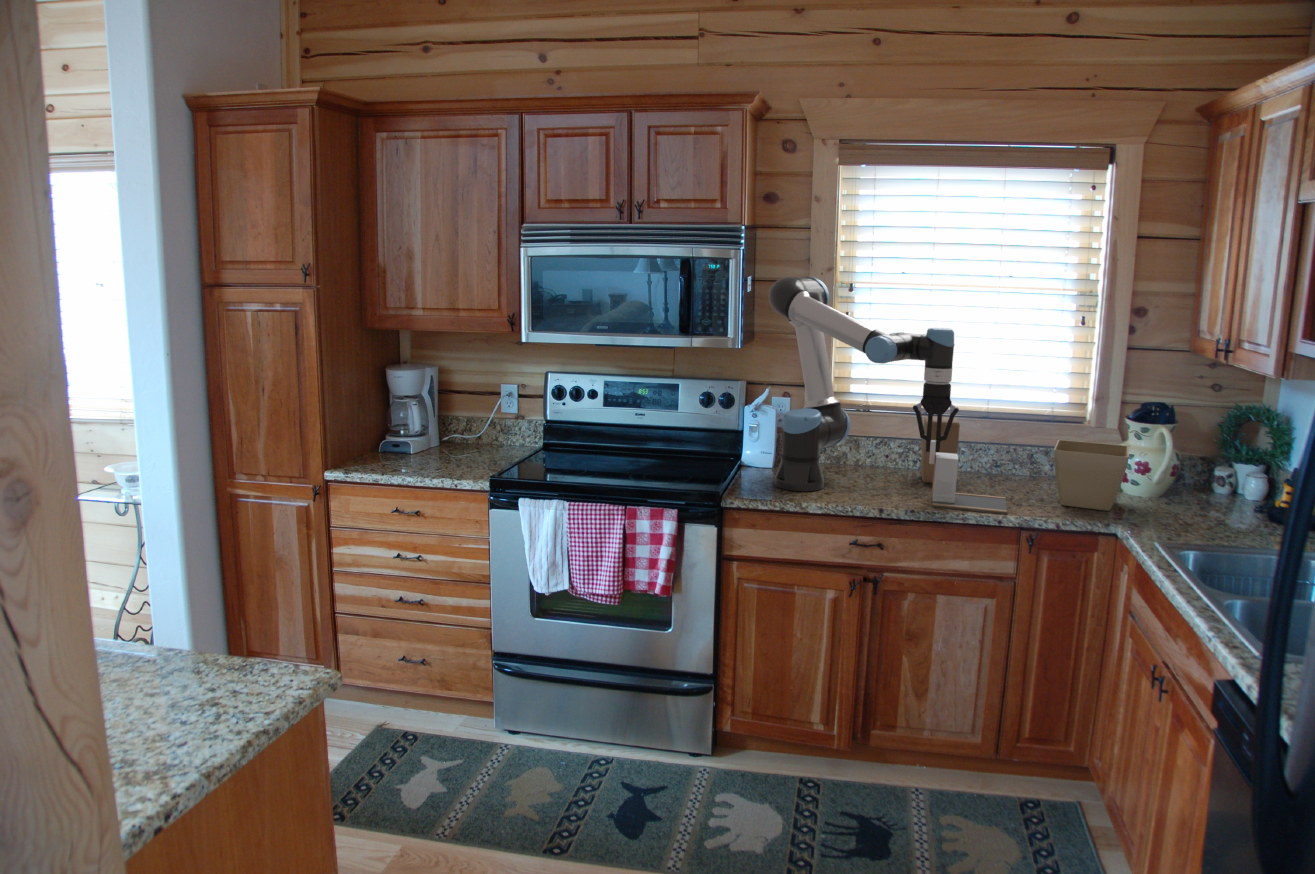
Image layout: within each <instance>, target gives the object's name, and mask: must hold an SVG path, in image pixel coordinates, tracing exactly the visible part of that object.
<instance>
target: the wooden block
mask: <svg viewBox="0 0 1315 874" xmlns="http://www.w3.org/2000/svg"><path fill="white" fill-rule="evenodd" d="M949 417H950V416H942V426H941V436H942V435H944V432H945V429H946V426H947V423H948V420H949ZM923 426H924V432H925V434H926V435H927V426H928V415H927V416H924V419H923ZM960 426H961V425H960V423H959V420H958V419H957V418H955V417H954V419H953V422H952V425H951V428H950V431H949V434H948V437H947V439H946V440H943V441H941V442H940V451H939V452H940V453H953V454H958V451H959V450H958V449H959V437H960V436H959V435H960ZM936 431H937V416H934V415H933V421H932V436H931V440H936ZM921 441H922V443H921V456H920V469H919V474H920V477H921V479H922V482H923V483H926V484H933V477H934V465H935V463H934V464H929V457H930V452H926V440H925V439H922V440H921ZM935 453H936V452H935Z"/></svg>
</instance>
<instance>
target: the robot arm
mask: <svg viewBox="0 0 1315 874" xmlns="http://www.w3.org/2000/svg"><path fill="white" fill-rule="evenodd" d="M768 292H769V293H768V303H769V305H770V307H771V309H772V310H773V311H774V312H775V313H777V314H778V315H780V316H782V317H784V318H786V319H788V322H789V324H791V326H793V327H794V330H795V334H796V335H795V336H796V340H797V341H796V342H797V349H798V354H799V360H800V366H801V371H802V377H803V384H804V388H805V389H804V390H805V395H806V403H805V405H804V406H803V407H801V408H794V409H791V410H788V411H786V412H785V413H784V415H783V417H782V424H781V430H782V431H781V432H782V433H781V457H780V463H779V465H778V468H777V469H776V474H775V476H774V486H775V487H777V488H779V489H782V490H787V491H793V492H815V491H820V490H822V489H824V487H825V479H824V474H823V471H822V467H821V464H820V454H821V452H820V451H821V449H823V448H826V447H833V446H836V445H837V444H840V443H841V442H843V441H844V440H845V439H847V437H848V435H849V433H850V432H851V419H850V417H849V414H848V412H846V411H845V409H842V404H841V400H839V399H837V398H836V397H835V394H834V393H835V391H834V386H833V381H832V375H831V370H830V363H829V362H830V361H829V357H828V351H827V346H826V338H825V334H826V335H827V336H829V337H832V338H833V339H835V340H838V341H839V342H842V344H843V343H844V344H845V345H847V346H850V347H851V348H853V349H855V350H858V351H859V352H862V353H863V354H865V355H866V357H867V359H868V360H869V361H870V362H872V363H875V364H887V363H892V362H899V361H905V360H911V361H912V360H913V361H924V371H923V372H924V374H923V380H924V383H923V389H922V390H923V391H922V398H921V399H920V402H919V403H917V404H914V405H913V406H912V409H913V411H914V413H915V416H916V420H917V421H916V422H917V426H918V432H919V437H920V439H922V440H923V439H925V440H926V452H930V457H929V464H934V463H935V452H938V453H939V451H940V442H941V441H943V440H946V439H947V437H948V434H949V431H950V428H951V425H952V422H953V419H954V418H955V416H956V415H957V414H958V413H959V411H960V410H959V409H960V408H959V407H958V406H955V405H954V404H952V400H951V392H952V391H951V390H952V385H951V382H952V379H953V378H952V376H953V361H954V350H955V332H954V330H953V329H952V328H947V327H946V328H945V327H929V328H928V329H927V330H926V333H925V334H919V333H910V332H909V333H908V332H902V331H901V332H892V333H889V334H887V333H885V332H883V331H881V330H878V329H877V328H875V327H873V326H870V325H869V324H866V323H864V322H862V321H860V320H858V319H856V318H855V317H852V316H850V315H847V314H846V313H843V312H842V311H840V310H837V309H835V308H834V307H831V306H830V305H828V304H829V302H830V293H829V289H828V287H827V286H826V284H825V283H824V282H823V281H822V280H820V278H818V277H812V276H807V275H806V276H786V277H782V278H780V279H777V280H776V281H775V282H774V283H773V284H772V285H771V287H770V289H769V291H768ZM922 407H923V409H922ZM948 409H949V413H950V414H949V416H948V417H949V420H948V423H947V426H946V429H945V432H944V435H942V436H941V426H942V417H943V415H944V414H945V413H946V412H947V411H948ZM922 410H925V412H926V413H927V416H928V426H927V435H926V434H925V432H924V420H923V417H922V412H921V411H922ZM934 415H935V416H936V417H937V431H936V440H931V436H932V421H933V416H934Z"/></svg>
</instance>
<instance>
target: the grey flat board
mask: <svg viewBox="0 0 1315 874" xmlns="http://www.w3.org/2000/svg"><path fill="white" fill-rule="evenodd" d="M1006 499H1007V497H1005V496H993V495H984V494H982V495H981V494H973V493H962V492H956V493H955V503H946V502H936V501H932V504H931V507H932V508H938V509H945V510H946V509H948V510H957V511H959V510H960V511H967V510H968V511H967V512H970V511H971V512H977V513H978V512H979V513H990V514H999V515H1008V505H1007V500H1006Z"/></svg>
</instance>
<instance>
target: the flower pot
mask: <svg viewBox="0 0 1315 874" xmlns="http://www.w3.org/2000/svg"><path fill="white" fill-rule="evenodd" d="M1129 449H1130V446H1129V445H1122V444H1114V443H1102V442H1095V441H1094V442H1092V441H1091V442H1090V441H1080V440H1079V441H1078V440H1068V439H1058V440H1057V441H1056V444H1055V446H1054V448H1053V463H1054V474H1055V481H1056V487H1057V493H1058V499H1059V501H1060V505H1062V506H1068V507H1075V508H1082V509H1090V510H1098V511H1108V512H1109V511H1111V509H1112V507H1113V506H1114V503H1115V501H1116V498H1117V497H1118V494H1119V491H1120V489H1121V486H1122V483H1123V480H1124V476H1125V473H1126V470H1127V467H1128V462H1129V460H1130V459H1129V458H1130V454H1129V453H1130V452H1129V451H1130V450H1129Z"/></svg>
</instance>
